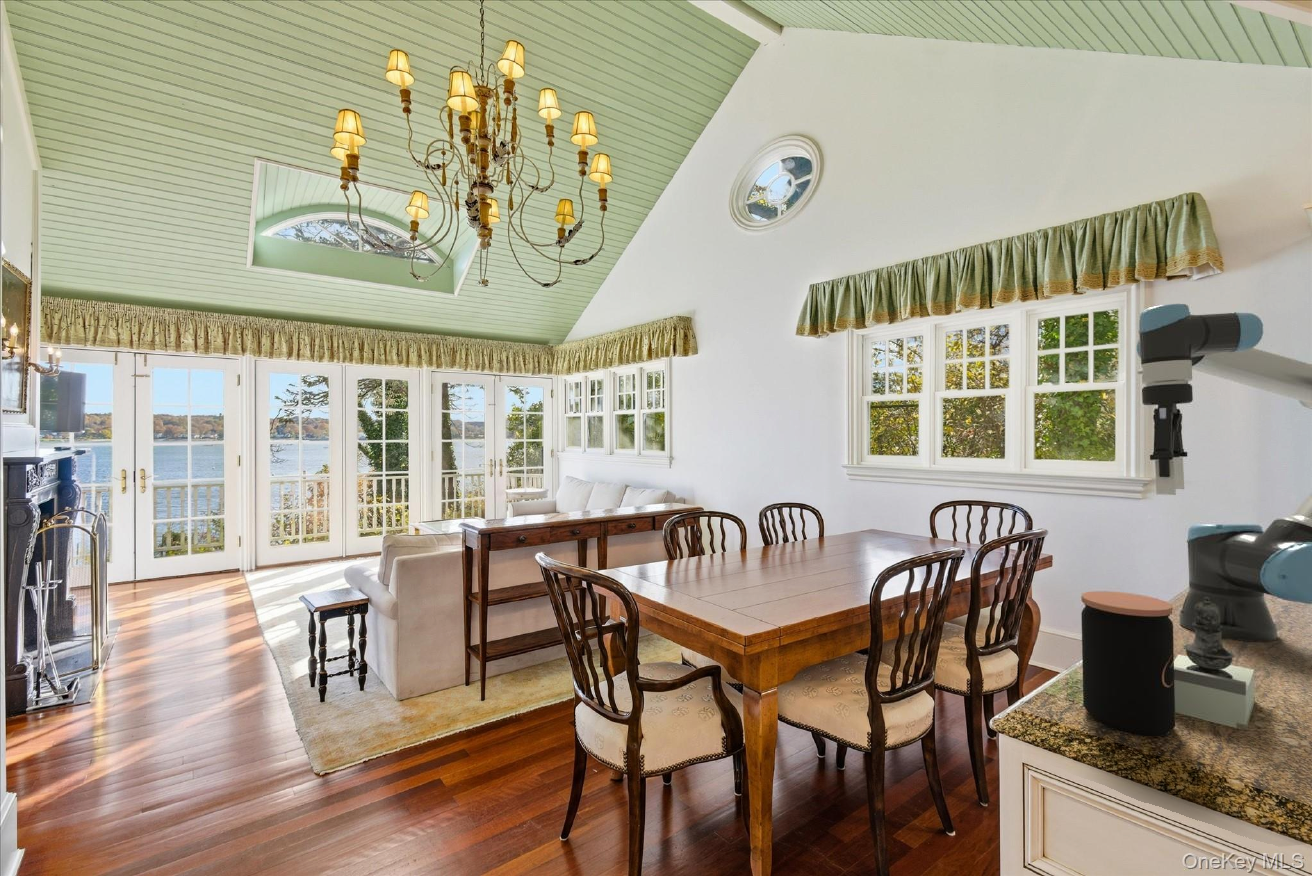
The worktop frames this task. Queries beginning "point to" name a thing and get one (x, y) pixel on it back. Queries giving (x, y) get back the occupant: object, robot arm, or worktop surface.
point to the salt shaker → (1208, 642)
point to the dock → (1214, 694)
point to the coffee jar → (1128, 662)
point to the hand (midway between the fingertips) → (1170, 491)
